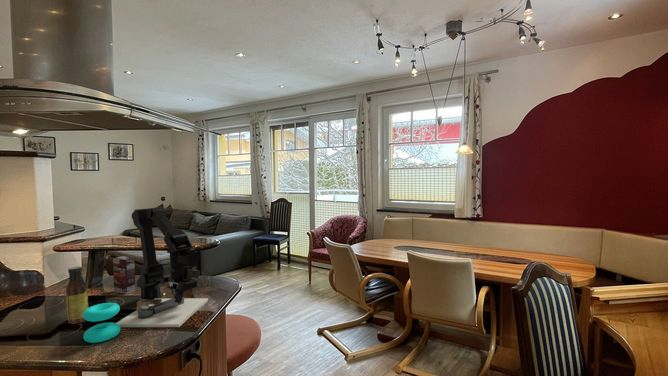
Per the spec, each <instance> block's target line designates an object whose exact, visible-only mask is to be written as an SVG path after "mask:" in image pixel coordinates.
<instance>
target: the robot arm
mask: <svg viewBox="0 0 668 376" xmlns="http://www.w3.org/2000/svg"><path fill="white" fill-rule="evenodd" d="M131 219H132V221H133V225H134V226H135V227H136V229H138V230H139V239H140V247H141V250H142V259H143V265H142V266H141V268H140V276H139V277H138V279H137V281H136V286H137V288H140V296H141V297H140V299H139V300H141V299H161V297H162V294H161V287H160V285H166V283H169V284H168V286H167V288H168V290H169V291H170V292H171V295H172V296H173V298H175V299H176V301H177V303H178V304H179V303H181V301H182V297H184V294H185V291H187V290H191V289H195V288H198V286H199V284H198V281H197V280H199V277H200V274H201V270H197V269H193V268H195V267H197V266H198V264H199V263H200V260H201V256H200V254H199V253H198V252H197V251H196V248H194V247H193V243H192V242H191V240H190V238H189V236H188V234H187V233H186V232H184V231H183V230H182V229H180V228H177V227H175V225H174V224H173V222H171V220H169V218H168V216H166V215H165V213H164V212H163V209H162V208H161V207H150V208H149V207H148V208H136V209H135V210H134V211H133V212H132V213H131ZM154 225H155V226H156V228H158V229H159V231H160V232H161V233H162V234H163V241H164V243H165V244H166V247H167V248H168V249H167V250H166V253H168V254H169V266H168V267H167V271H169V272H170V273H169V274H167V275H165V271H164V265H163V263H160V262H159V261H158V260H157V253H156V245H155V238H154V234H153V232H154V231H153V226H154ZM194 278H195V279H194ZM196 279H197V280H196Z"/></svg>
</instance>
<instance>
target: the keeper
mask: <svg viewBox="0 0 668 376" xmlns="http://www.w3.org/2000/svg"><path fill="white" fill-rule="evenodd" d="M140 299H141V298H140ZM140 299H138V300H137V301H136V310H137V312H138V310H139V309H141V308H142V305H145V304H149V305H155V304H159V303H160V302H162V299H163V298H158V299H141V300H140Z"/></svg>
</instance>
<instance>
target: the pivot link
mask: <svg viewBox="0 0 668 376" xmlns="http://www.w3.org/2000/svg"><path fill="white" fill-rule="evenodd" d="M184 298H185V297H184V296H183V297H182V301H181V303H179V304H178V303H177V301H176V299H175V298H174V297H172V298H169V299H170V300H167V301H164V302H161V303H159V304H155V305H152V306H150V307H149V304H145V305H142V308H141V309H139V310H138V318H140V319H144V318H149V317H151V316H153V314H156V313H159V312H162V311H164V310H167V309H170V308H172V307H175V306H178V305H180V304H183V303H184Z"/></svg>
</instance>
